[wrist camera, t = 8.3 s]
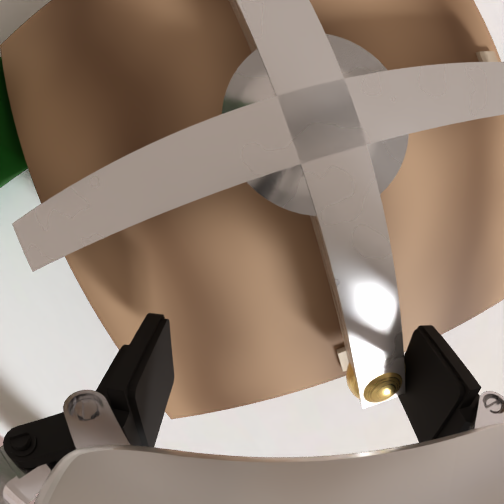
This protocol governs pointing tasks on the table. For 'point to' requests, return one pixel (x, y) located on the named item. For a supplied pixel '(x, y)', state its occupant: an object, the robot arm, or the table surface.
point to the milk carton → (8, 138)
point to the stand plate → (251, 189)
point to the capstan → (292, 166)
